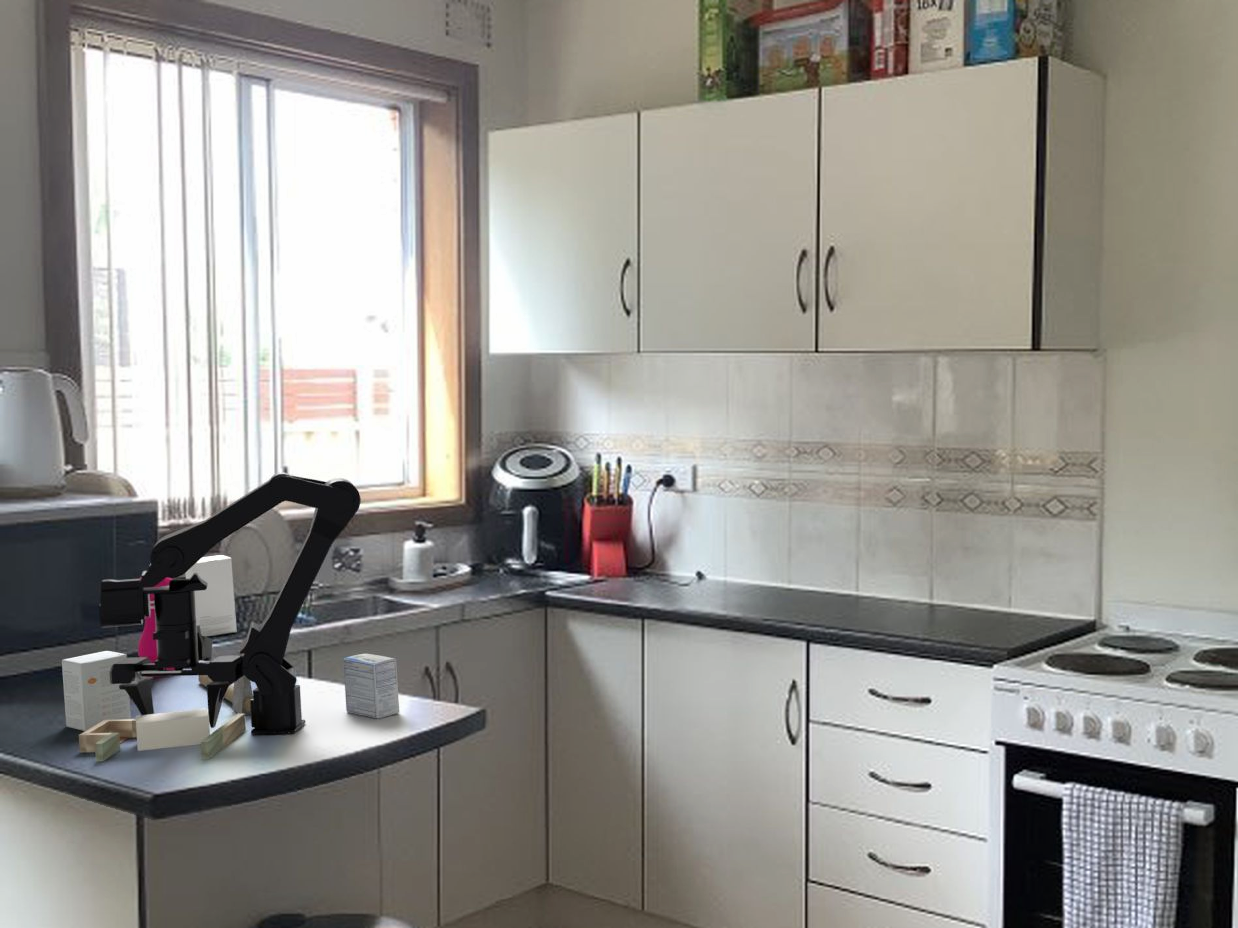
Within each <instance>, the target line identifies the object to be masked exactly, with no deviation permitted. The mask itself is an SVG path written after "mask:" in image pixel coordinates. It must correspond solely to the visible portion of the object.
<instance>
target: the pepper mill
mask: <svg viewBox="0 0 1238 928" xmlns="http://www.w3.org/2000/svg"><path fill="white" fill-rule="evenodd" d="M150 565H151V563H150V564H149V566H150ZM149 566H148V567H149ZM139 579H140V580H141V577H139ZM170 580H173V578H165V579H164V580H163V581H161V582H160V583H159V584H157V585H156V586H154V587H163V586H169V581H170ZM147 588H151V587H147ZM154 632H156V622H155V606H154V594H150V617H145V621H144V627H143V631H142V634H141V636H140V639H139V640H138V645H137V655H138V656H139V657H148V658H149V660H150V662H151V663H154V661H156V660H158V656H157V640H153V633H154ZM166 670H174V668H166ZM147 677H153V679H155V678H164V677H167V676H147Z"/></svg>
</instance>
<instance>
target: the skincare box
mask: <svg viewBox="0 0 1238 928" xmlns="http://www.w3.org/2000/svg"><path fill="white" fill-rule="evenodd" d="M194 573H197V574H198V576H199V577H200V578H201V579H202V580H204V581H205V582H207V583H208V585H207V589H206V590H200V591H195V605H196V622H197V625H200V629H201V635H202V636H205V637H212V636H213V637H214V636H219V635H225V634H233V633H237V632H238V630H237V617H236V604H235V591H234V589H235V588H234V577H233V558H232V557H230V556H227V555H223V554H219V555H210V556H203V557H202V558H201V559H200V560H199V561H198V562H197V563H196V564H194V565H193V566H192V567H191V568H190V569H189V570H188V571H187V572H186V573H184V574H185V579H189V578H191V577H192V575H193V574H194Z"/></svg>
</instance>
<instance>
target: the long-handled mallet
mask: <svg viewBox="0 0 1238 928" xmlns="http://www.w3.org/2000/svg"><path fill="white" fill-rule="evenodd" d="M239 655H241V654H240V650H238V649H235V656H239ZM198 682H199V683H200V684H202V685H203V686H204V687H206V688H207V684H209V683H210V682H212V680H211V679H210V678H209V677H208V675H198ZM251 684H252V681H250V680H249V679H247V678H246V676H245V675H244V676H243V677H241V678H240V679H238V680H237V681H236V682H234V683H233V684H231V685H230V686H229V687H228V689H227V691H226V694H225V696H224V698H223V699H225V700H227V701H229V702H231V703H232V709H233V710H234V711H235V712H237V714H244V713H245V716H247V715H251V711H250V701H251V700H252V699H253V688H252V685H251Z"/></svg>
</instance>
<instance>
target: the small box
mask: <svg viewBox="0 0 1238 928" xmlns="http://www.w3.org/2000/svg"><path fill="white" fill-rule="evenodd" d="M124 658H128V655H127V654H126V653H121V652H116V651H110V650H104V651H103V650H102V651H98V652H94V653H89V654H88V653H87V654H83V655H79V656H75V657H70V658H64V659H61V668H62V681H63V697H64V712H65V725H66V726H65V727H67V728H71V729H74V730H78V731H83V732H85V731H87V730H88V729H90V728H92V727H93V726H95V725H97V724H98V723H100V722H102V721H103V720H113V719H132V715H131V700H130V699H131V698H130V696H129V695H128V693H127V692H126V691H125V690H121V689H119V685H121V684H111V683H110V674H109V672H110V669H111V667H112V665H113V664H114V663H116V662H118V661H120V660H122V659H124Z"/></svg>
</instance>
